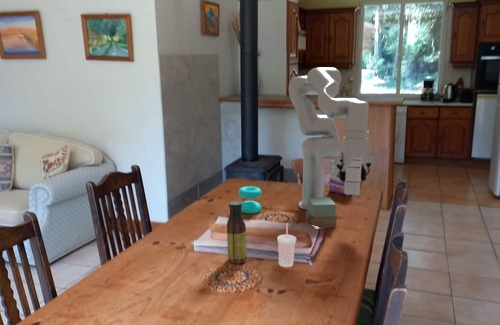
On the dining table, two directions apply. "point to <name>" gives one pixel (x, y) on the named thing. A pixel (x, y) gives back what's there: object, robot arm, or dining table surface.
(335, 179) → the candy bar box
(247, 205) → the donuts
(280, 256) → the beverage cup
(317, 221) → the tower base
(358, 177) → the syrup box
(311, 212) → the tower top
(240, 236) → the sauce bottle
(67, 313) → the dining table surface
